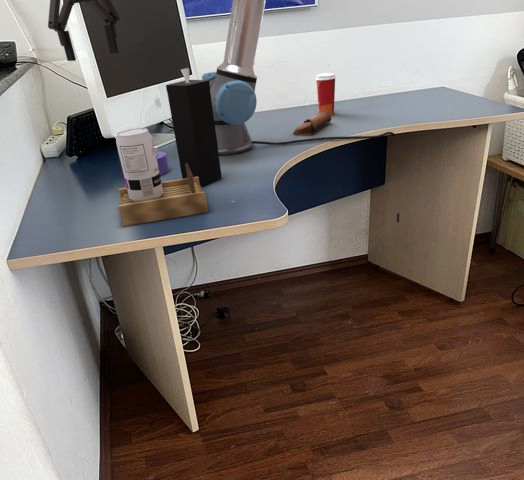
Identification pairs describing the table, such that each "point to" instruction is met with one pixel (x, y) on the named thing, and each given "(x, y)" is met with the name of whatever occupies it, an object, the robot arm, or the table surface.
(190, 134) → the tissue box
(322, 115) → the sunglasses case
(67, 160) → the table surface
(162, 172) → the tape roll
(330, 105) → the paper cup
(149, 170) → the supplement can
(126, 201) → the dish rack
